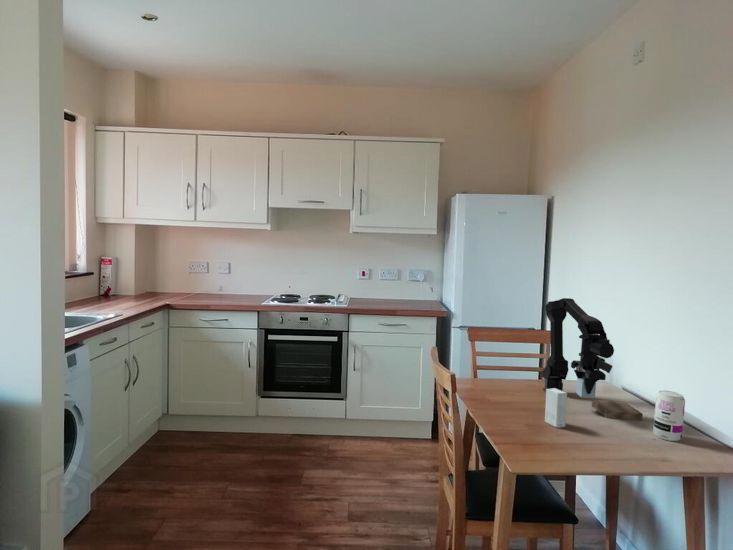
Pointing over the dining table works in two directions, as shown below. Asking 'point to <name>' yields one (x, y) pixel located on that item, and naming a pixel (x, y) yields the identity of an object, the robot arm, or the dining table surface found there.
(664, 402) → the supplement can
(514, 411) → the dining table surface
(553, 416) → the skincare box
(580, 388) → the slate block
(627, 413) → the walnut base
